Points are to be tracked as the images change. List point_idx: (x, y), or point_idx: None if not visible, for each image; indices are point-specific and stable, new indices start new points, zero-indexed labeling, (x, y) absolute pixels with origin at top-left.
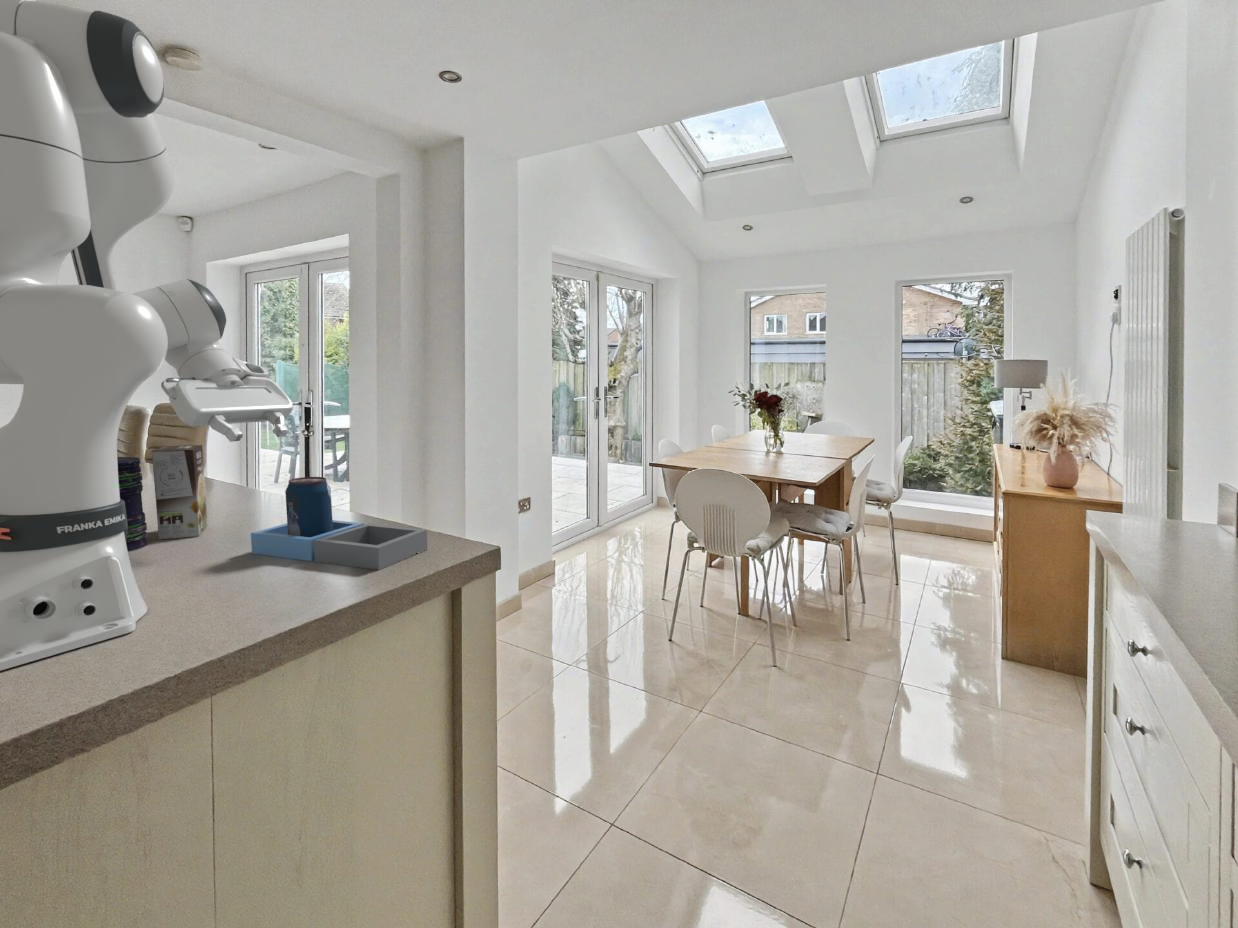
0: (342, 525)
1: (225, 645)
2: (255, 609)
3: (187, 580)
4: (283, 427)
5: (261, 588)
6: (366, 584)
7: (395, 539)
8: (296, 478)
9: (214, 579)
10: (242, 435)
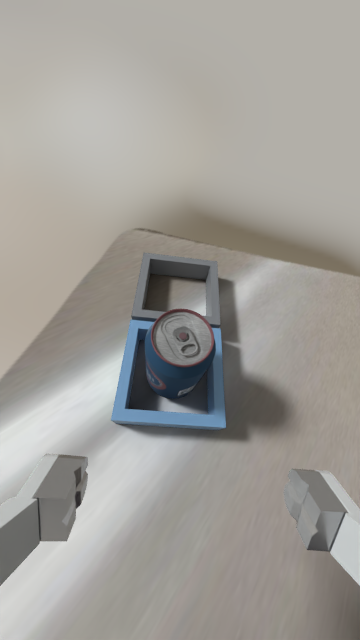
0: (135, 347)
1: (351, 282)
2: (315, 302)
3: (315, 410)
4: (55, 470)
5: (288, 328)
6: (243, 268)
7: (187, 261)
8: (177, 364)
9: (298, 385)
10: (293, 469)
